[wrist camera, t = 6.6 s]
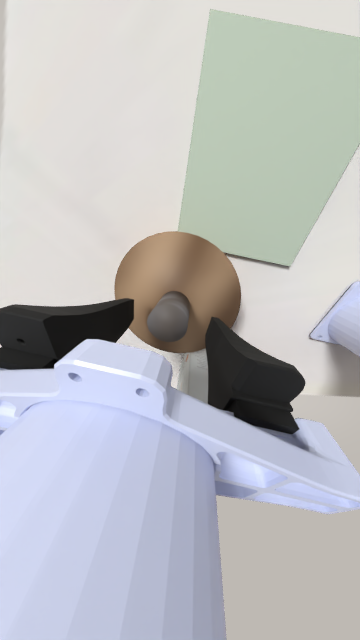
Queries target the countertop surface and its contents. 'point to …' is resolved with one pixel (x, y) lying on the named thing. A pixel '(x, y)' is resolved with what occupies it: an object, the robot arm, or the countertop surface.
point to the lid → (177, 290)
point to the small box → (194, 375)
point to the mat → (269, 134)
